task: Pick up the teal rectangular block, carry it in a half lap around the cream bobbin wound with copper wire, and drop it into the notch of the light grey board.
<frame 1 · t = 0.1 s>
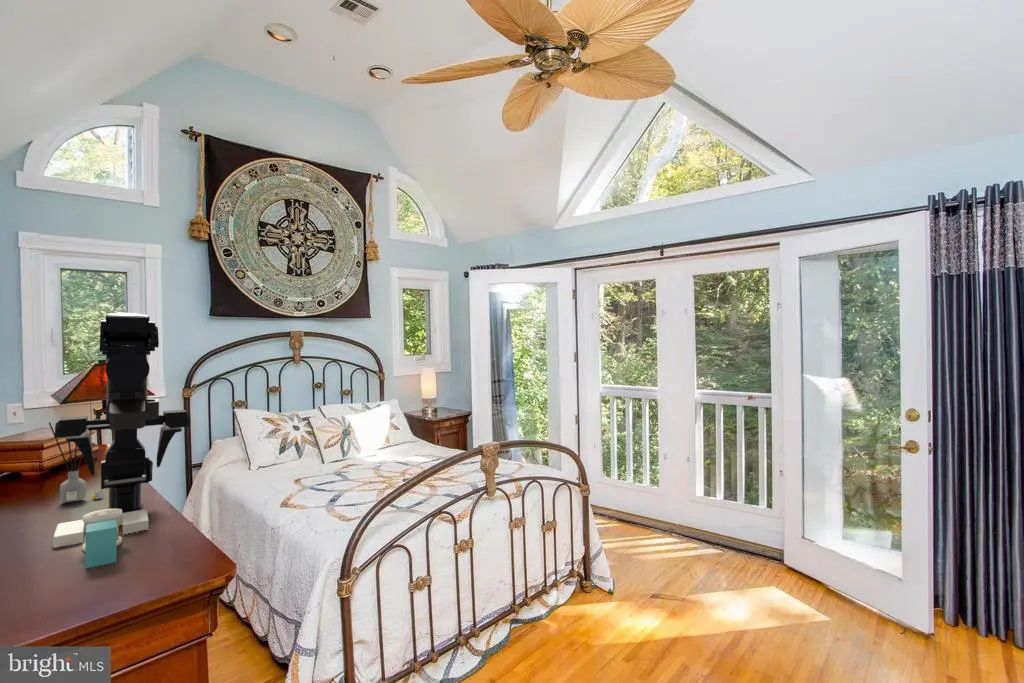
hand: (126, 470, 88), 15 cm above the dresser, tool pointing down, fingers open, 9 cm apart
notched board: (103, 532, 98), on the dresser
teal rectangular block: (101, 560, 85), on the dresser
bobbin: (102, 545, 91), on the dresser
reed diffuser: (76, 501, 119), on the dresser
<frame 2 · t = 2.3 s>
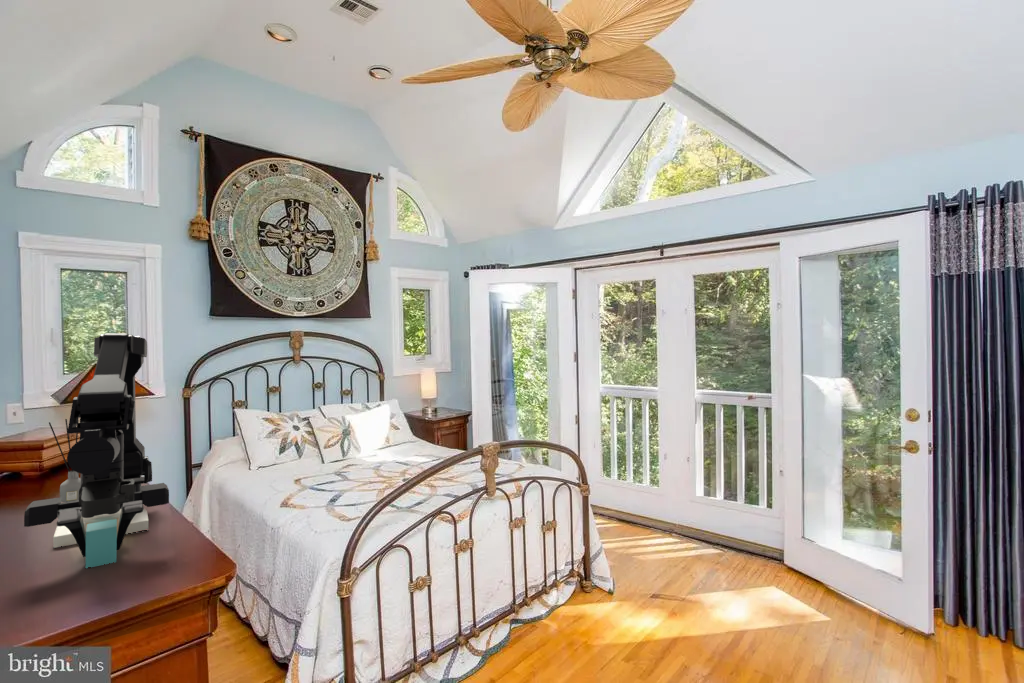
hand: (101, 553, 85), 1 cm above the dresser, tool pointing down, fingers closed on teal rectangular block, 4 cm apart
teal rectangular block: (101, 560, 85), on the dresser, touching gripper
everything else where it was.
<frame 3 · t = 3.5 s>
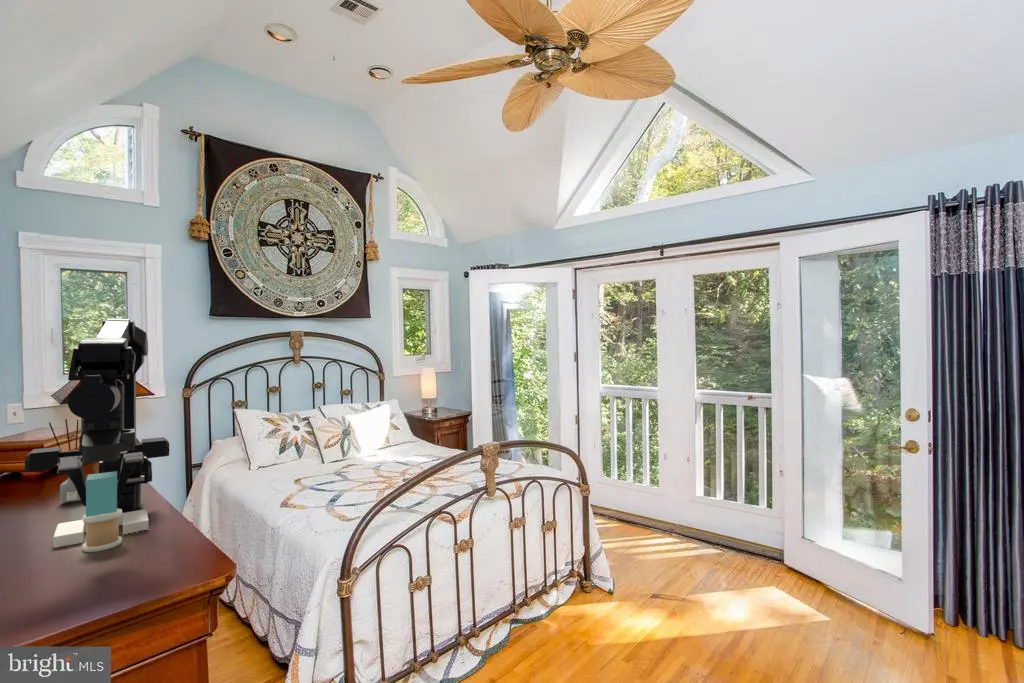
hand: (102, 503, 85), 10 cm above the dresser, tool pointing down, fingers closed on teal rectangular block, 4 cm apart
teal rectangular block: (101, 510, 85), point 9 cm above the dresser, touching gripper
everything else where it was.
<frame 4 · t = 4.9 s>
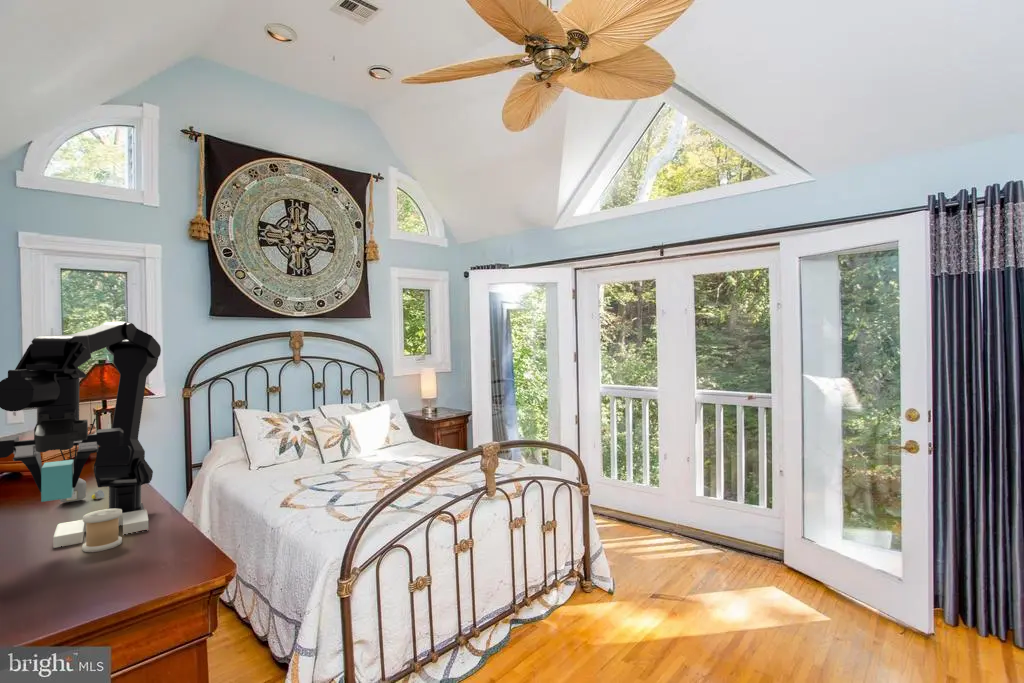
hand: (58, 489, 90), 11 cm above the dresser, tool pointing down, fingers closed on teal rectangular block, 4 cm apart
teal rectangular block: (58, 496, 90), point 9 cm above the dresser, touching gripper
everything else where it was.
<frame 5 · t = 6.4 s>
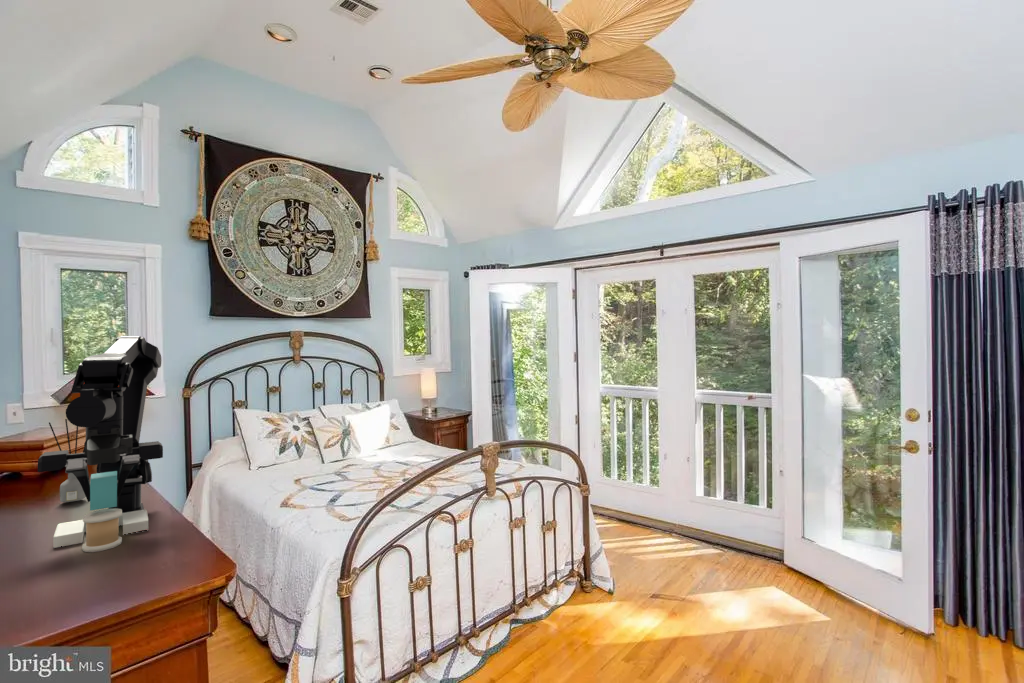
hand: (103, 499, 97), 7 cm above the dresser, tool pointing down, fingers closed on teal rectangular block, 4 cm apart
teal rectangular block: (103, 505, 97), point 6 cm above the dresser, touching gripper
everything else where it was.
when the fingers open (3 cm above the dresser, at t = 7.6 s): teal rectangular block drops 2 cm, on the dresser.
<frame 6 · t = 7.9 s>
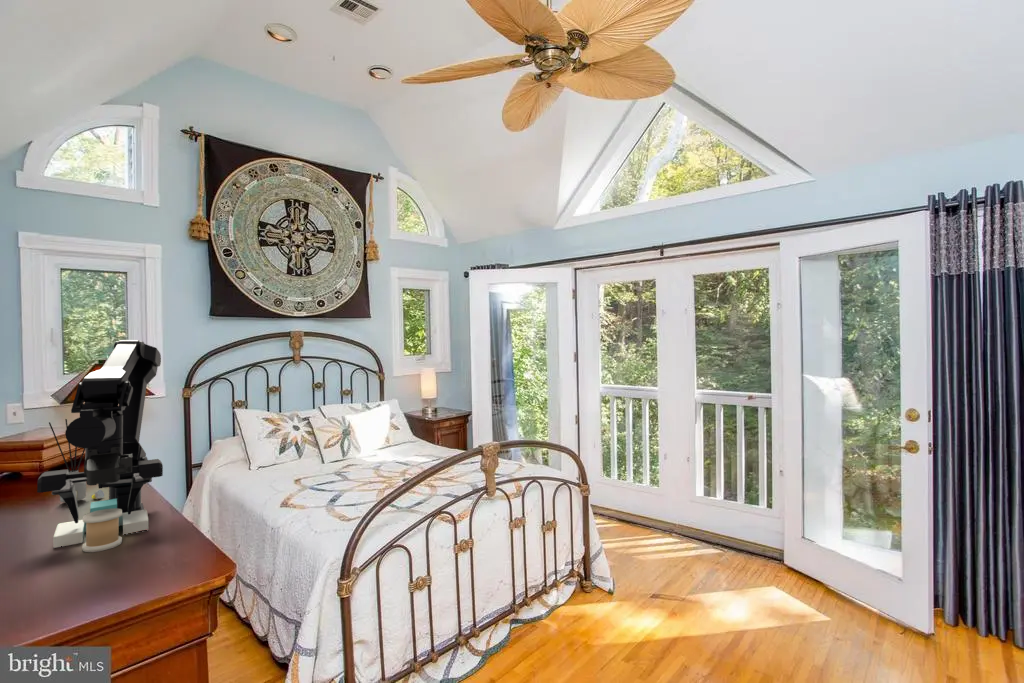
hand: (103, 518, 97), 3 cm above the dresser, tool pointing down, fingers open, 8 cm apart
teal rectangular block: (103, 533, 97), on the dresser
everything else where it was.
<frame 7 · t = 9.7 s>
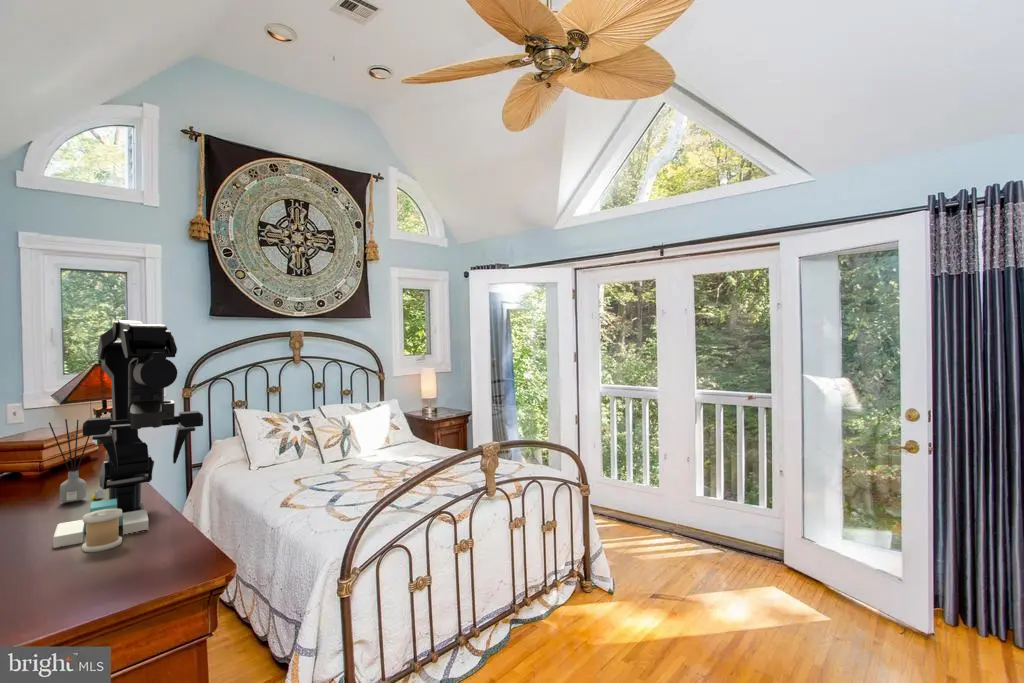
hand: (146, 466, 97), 13 cm above the dresser, tool pointing down, fingers open, 9 cm apart
nothing on the dresser moved.
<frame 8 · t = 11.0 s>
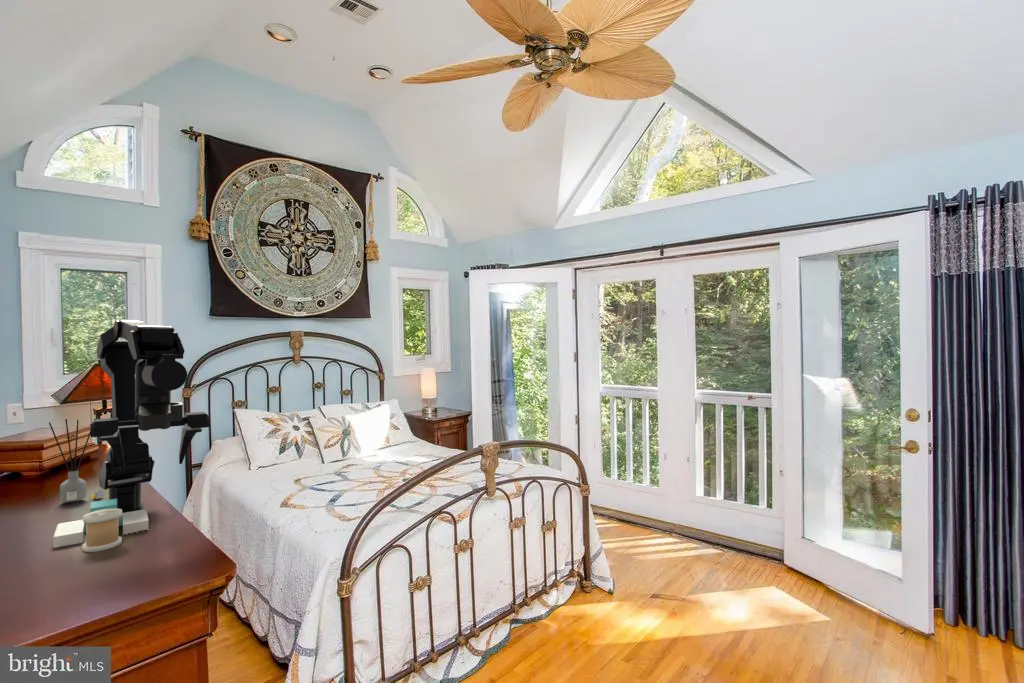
hand: (152, 467, 97), 13 cm above the dresser, tool pointing down, fingers open, 9 cm apart
nothing on the dresser moved.
at the end: teal rectangular block 0.0 cm from the target spot on the notched board, point 0.0 cm above the notched board's base; teal rectangular block tilted 0°; the gripper is holding nothing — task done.
